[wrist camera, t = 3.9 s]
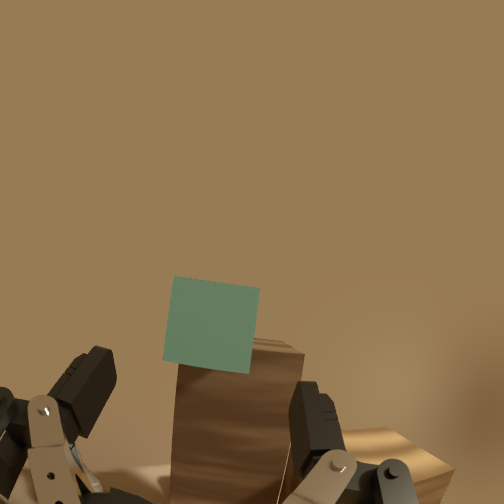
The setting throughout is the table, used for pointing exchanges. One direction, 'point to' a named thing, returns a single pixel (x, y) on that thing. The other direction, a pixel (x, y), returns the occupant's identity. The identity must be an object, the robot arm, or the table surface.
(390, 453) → the oak block
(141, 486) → the table surface
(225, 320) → the bar
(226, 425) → the walnut stand
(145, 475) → the table surface
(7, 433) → the robot arm
